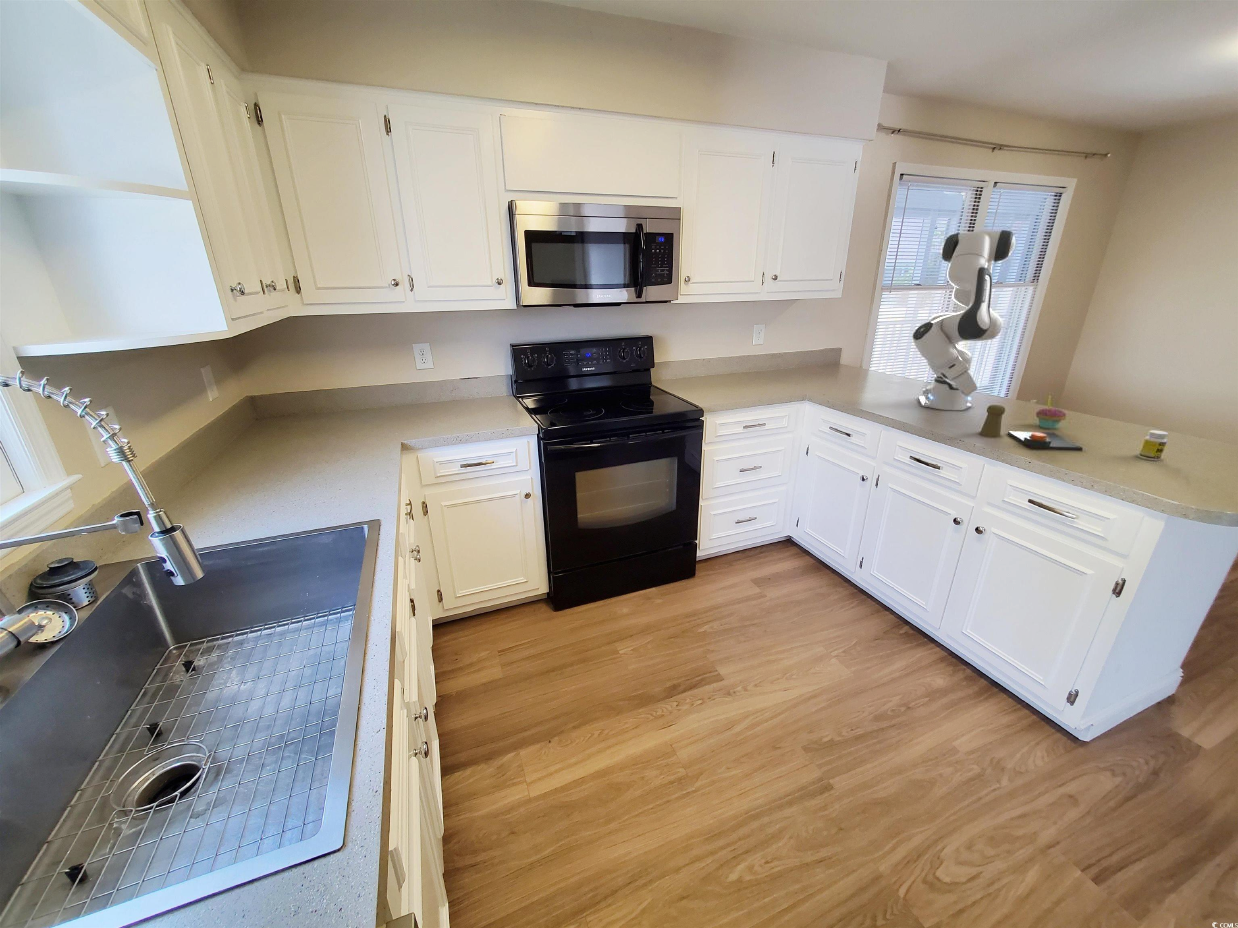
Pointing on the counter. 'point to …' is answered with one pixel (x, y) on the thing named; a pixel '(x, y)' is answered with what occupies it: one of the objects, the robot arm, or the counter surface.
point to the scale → (1045, 441)
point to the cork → (993, 421)
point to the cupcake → (1050, 416)
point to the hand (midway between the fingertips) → (967, 394)
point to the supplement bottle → (1153, 445)
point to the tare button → (1038, 436)
